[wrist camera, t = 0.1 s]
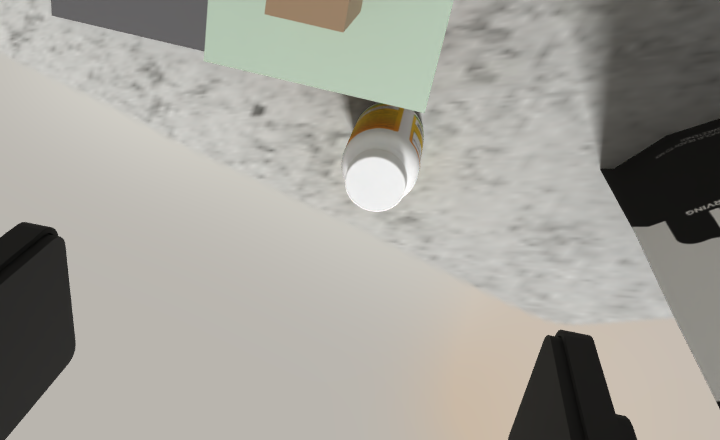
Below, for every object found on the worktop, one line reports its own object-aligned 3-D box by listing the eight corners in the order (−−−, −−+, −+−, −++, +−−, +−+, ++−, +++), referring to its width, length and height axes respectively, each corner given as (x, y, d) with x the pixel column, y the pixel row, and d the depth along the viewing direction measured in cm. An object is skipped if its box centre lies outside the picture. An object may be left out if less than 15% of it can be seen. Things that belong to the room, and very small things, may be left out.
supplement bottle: (342, 138, 49) (317, 190, 41) (382, 85, 47) (365, 129, 38) (396, 177, 50) (382, 236, 42) (438, 128, 48) (433, 180, 39)
